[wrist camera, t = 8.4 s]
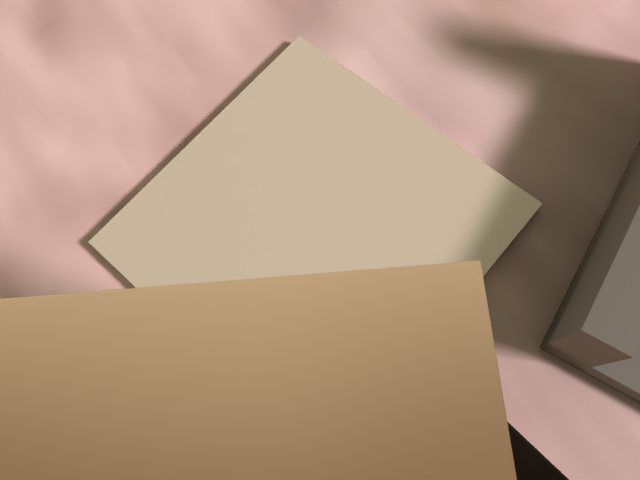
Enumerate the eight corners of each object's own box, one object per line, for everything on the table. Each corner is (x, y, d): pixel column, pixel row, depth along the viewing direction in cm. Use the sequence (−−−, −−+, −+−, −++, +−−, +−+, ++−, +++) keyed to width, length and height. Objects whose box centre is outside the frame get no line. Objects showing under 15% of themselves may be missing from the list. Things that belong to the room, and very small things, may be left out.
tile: (327, 468, 19) (326, 470, 19) (94, 246, 23) (87, 241, 22) (537, 209, 22) (542, 203, 21) (300, 44, 25) (299, 35, 25)
